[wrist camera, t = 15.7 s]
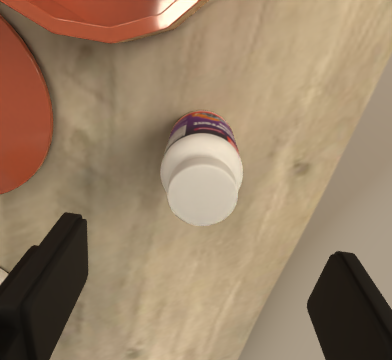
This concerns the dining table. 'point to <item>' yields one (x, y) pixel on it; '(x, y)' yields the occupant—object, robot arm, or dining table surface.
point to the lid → (21, 111)
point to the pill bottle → (201, 169)
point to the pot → (107, 17)
